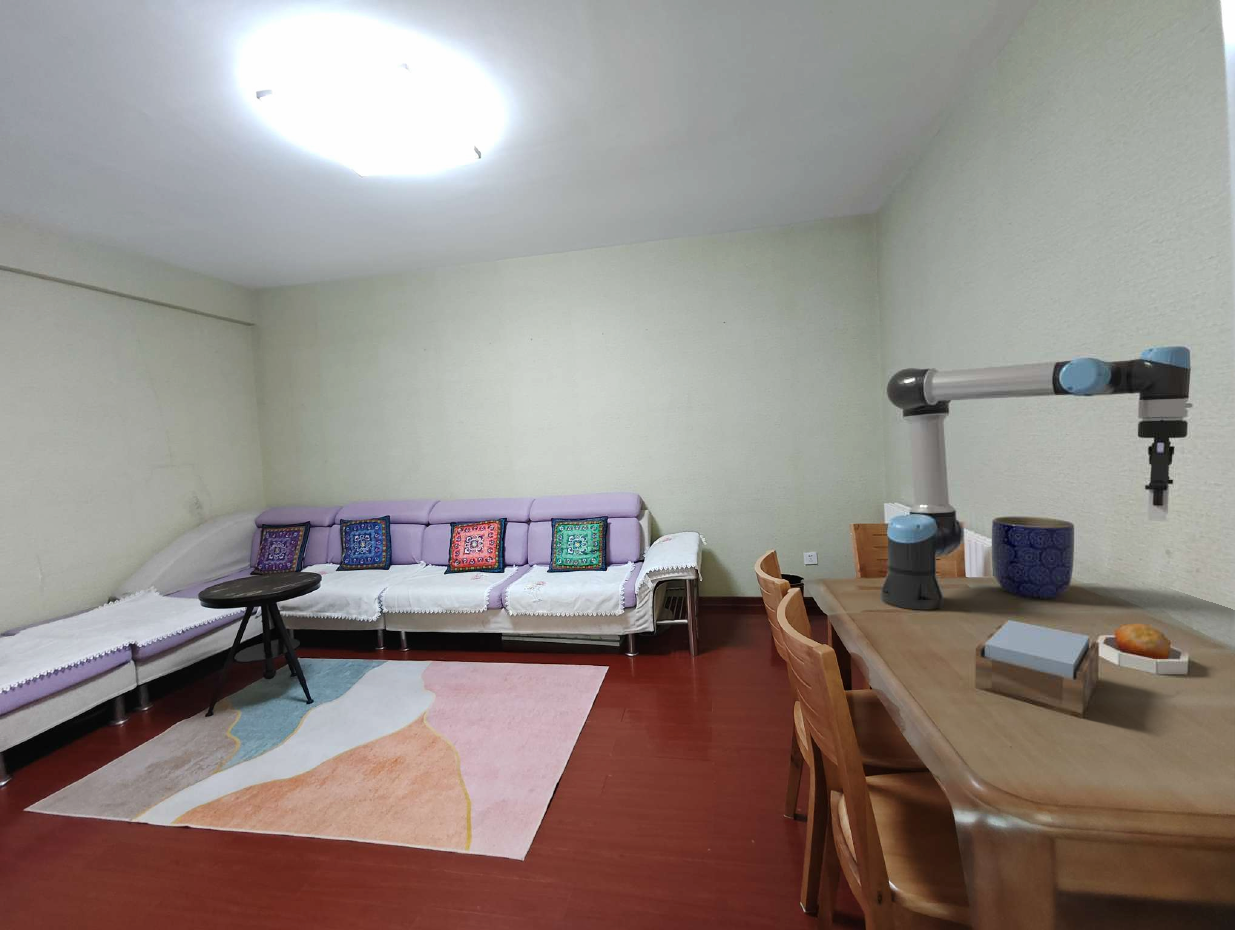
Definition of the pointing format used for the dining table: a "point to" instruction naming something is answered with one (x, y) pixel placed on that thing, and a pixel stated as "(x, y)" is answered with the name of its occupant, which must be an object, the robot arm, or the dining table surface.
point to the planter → (1033, 555)
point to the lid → (1038, 648)
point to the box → (1039, 682)
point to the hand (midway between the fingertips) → (1158, 516)
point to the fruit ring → (1143, 658)
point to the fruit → (1142, 641)
